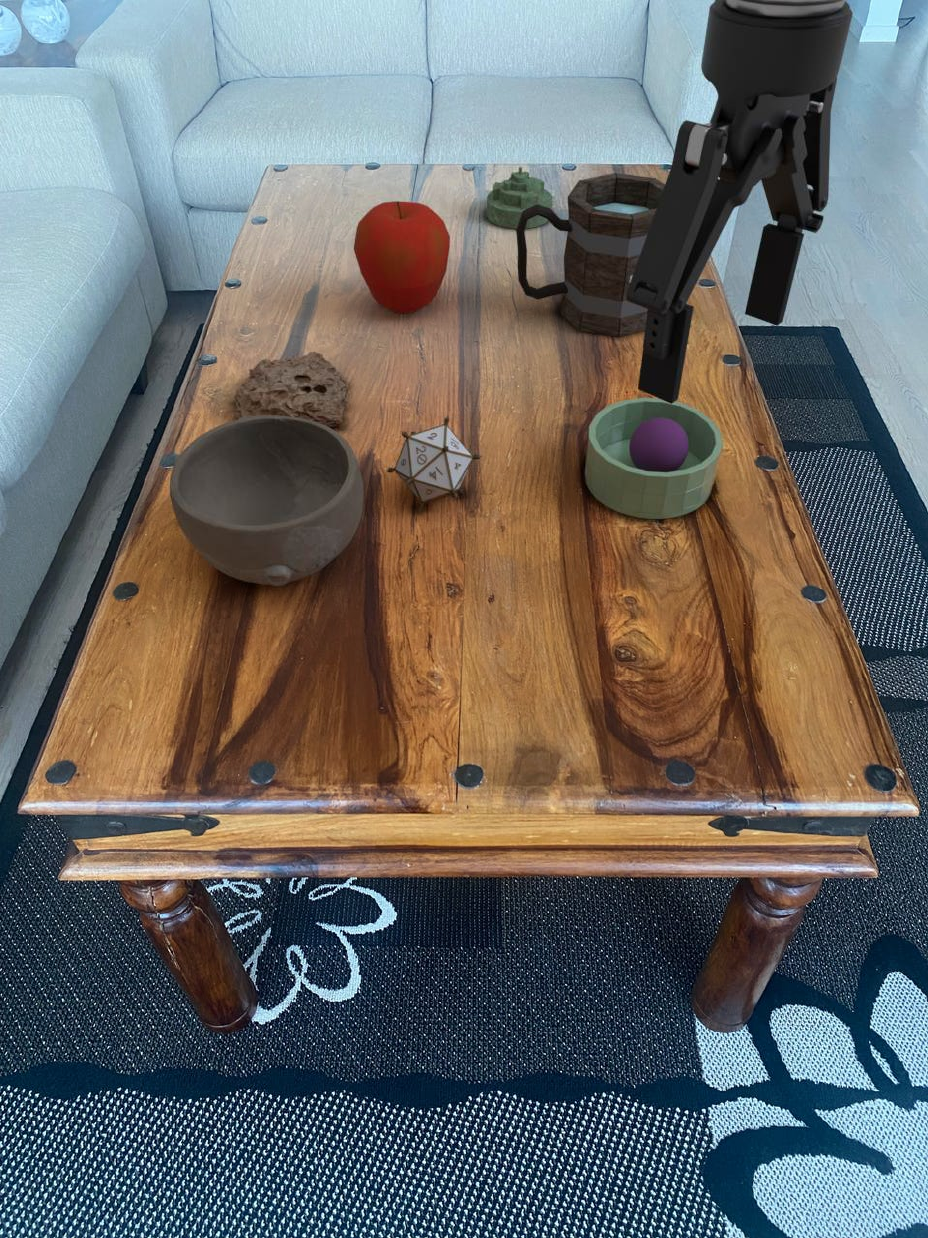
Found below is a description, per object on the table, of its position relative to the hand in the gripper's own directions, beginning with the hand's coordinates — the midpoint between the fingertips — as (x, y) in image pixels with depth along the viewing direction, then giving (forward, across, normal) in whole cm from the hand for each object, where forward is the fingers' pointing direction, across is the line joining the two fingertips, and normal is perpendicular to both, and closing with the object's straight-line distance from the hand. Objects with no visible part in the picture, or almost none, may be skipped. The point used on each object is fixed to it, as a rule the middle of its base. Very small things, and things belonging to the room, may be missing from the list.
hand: (713, 354), depth 65 cm
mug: (+26, -40, -39) cm, 61 cm away
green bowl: (+26, -16, -13) cm, 33 cm away
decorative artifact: (+25, -56, -65) cm, 90 cm away
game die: (+26, +1, -28) cm, 38 cm away
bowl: (+26, +17, -33) cm, 46 cm away
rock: (+26, 0, -53) cm, 59 cm away
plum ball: (+22, -16, -12) cm, 30 cm away
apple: (+26, -24, -58) cm, 68 cm away
